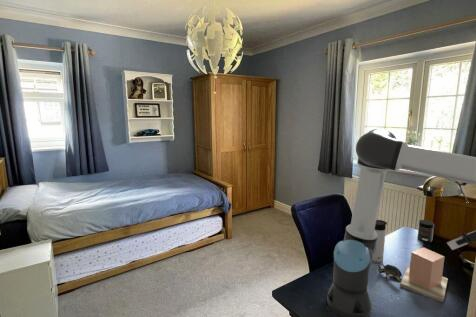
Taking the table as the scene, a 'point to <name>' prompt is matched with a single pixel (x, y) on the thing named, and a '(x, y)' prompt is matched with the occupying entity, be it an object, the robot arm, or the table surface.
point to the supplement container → (425, 231)
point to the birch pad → (433, 293)
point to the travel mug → (379, 241)
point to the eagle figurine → (390, 271)
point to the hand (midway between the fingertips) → (460, 241)
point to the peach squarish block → (426, 267)
